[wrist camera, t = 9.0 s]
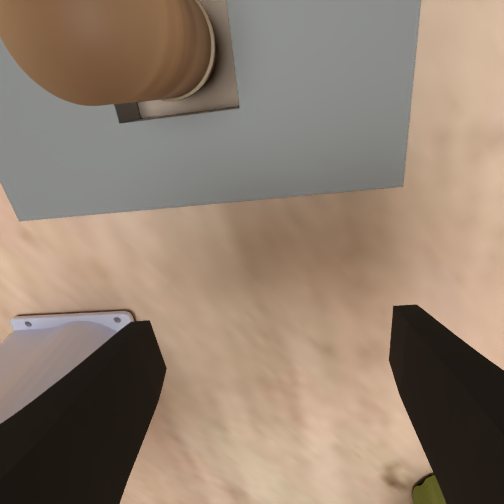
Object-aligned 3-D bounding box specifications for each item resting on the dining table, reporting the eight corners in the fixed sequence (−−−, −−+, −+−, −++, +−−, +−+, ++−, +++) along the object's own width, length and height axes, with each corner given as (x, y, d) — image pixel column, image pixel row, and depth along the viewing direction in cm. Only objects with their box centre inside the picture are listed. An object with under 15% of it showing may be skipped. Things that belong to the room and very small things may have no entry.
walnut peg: (153, 106, 16) (35, 123, 8) (124, 7, 15) (-61, -89, 7) (232, 90, 16) (184, 92, 8) (212, -16, 14) (123, -152, 6)
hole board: (48, 206, 20) (19, 221, 17) (-88, -113, 13) (-161, -152, 11) (386, 173, 17) (402, 186, 15) (417, -235, 11) (452, -319, 9)
